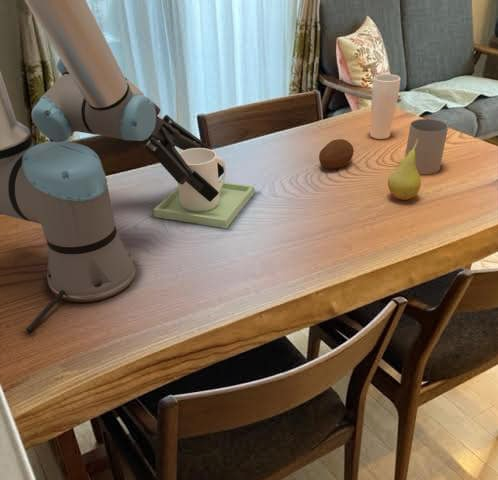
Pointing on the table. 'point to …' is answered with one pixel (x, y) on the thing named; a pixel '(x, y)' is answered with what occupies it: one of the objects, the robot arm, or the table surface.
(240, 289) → the table surface
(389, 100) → the drinking glass
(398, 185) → the fruit
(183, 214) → the tray
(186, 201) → the mug
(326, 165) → the potato
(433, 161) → the cup
